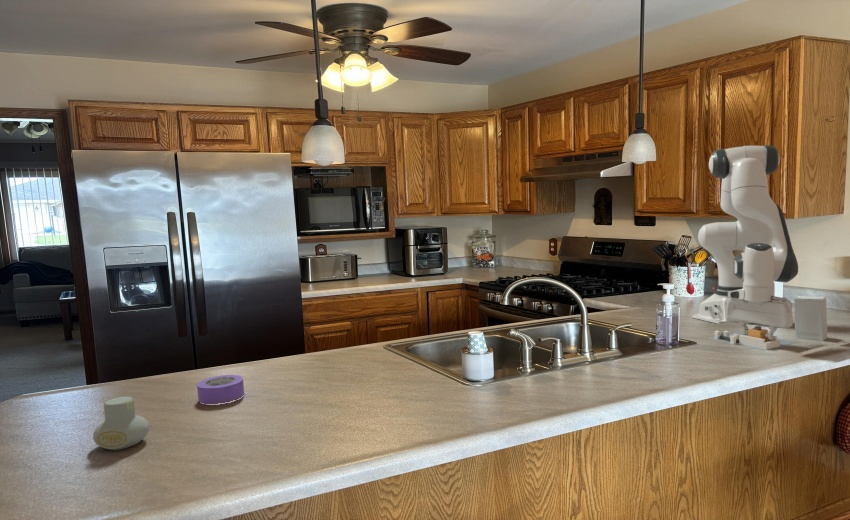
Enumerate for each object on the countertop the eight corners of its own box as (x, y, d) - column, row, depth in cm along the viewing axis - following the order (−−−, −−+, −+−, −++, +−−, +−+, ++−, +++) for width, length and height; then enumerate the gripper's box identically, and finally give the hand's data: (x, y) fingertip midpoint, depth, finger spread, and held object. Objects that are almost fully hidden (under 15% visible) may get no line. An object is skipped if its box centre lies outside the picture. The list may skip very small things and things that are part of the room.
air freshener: (156, 436, 132) (152, 393, 131) (139, 451, 124) (135, 405, 123) (107, 438, 132) (103, 395, 131) (87, 453, 124) (83, 408, 123)
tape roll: (196, 408, 150) (194, 389, 150) (200, 395, 162) (199, 377, 161) (243, 402, 153) (242, 384, 153) (245, 390, 165) (243, 372, 164)
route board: (706, 341, 198) (706, 330, 198) (739, 334, 207) (739, 323, 206) (763, 353, 181) (763, 340, 180) (797, 345, 189) (797, 333, 189)
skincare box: (827, 340, 193) (828, 296, 192) (822, 344, 189) (823, 299, 187) (798, 337, 199) (799, 294, 198) (793, 340, 195) (793, 296, 194)
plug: (747, 344, 188) (748, 326, 188) (755, 342, 190) (755, 324, 189) (759, 347, 185) (760, 328, 184) (767, 345, 186) (767, 326, 186)
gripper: (797, 297, 178) (797, 341, 179) (735, 290, 196) (734, 330, 197) (785, 299, 175) (784, 344, 176) (723, 292, 193) (722, 332, 194)
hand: (757, 337), depth 187 cm, fingers open, 6 cm apart
